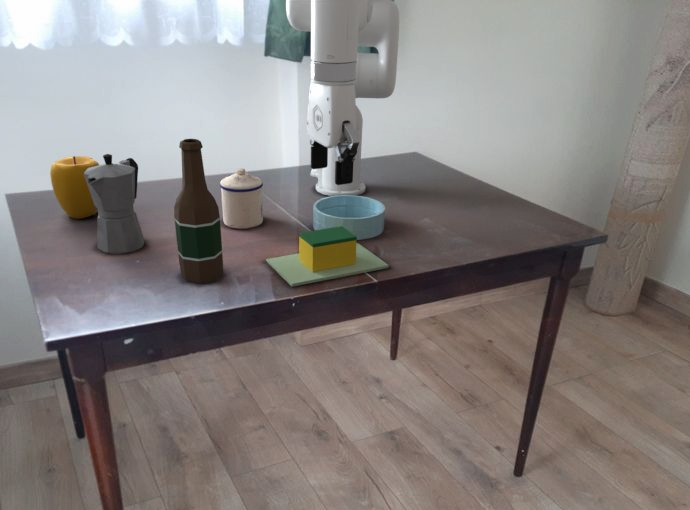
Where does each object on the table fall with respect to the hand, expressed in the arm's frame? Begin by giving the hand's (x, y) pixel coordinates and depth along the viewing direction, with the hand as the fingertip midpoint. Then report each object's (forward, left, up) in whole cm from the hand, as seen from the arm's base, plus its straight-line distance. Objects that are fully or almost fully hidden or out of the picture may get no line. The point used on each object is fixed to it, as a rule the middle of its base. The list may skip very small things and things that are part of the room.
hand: (331, 175), depth 113 cm
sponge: (+1, -1, -16) cm, 16 cm away
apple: (-58, -11, -17) cm, 62 cm away
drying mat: (+1, -1, -17) cm, 17 cm away
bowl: (-6, +17, -17) cm, 25 cm away
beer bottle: (-15, -19, -17) cm, 30 cm away
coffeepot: (-38, -17, -17) cm, 45 cm away
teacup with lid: (-28, +7, -17) cm, 34 cm away
